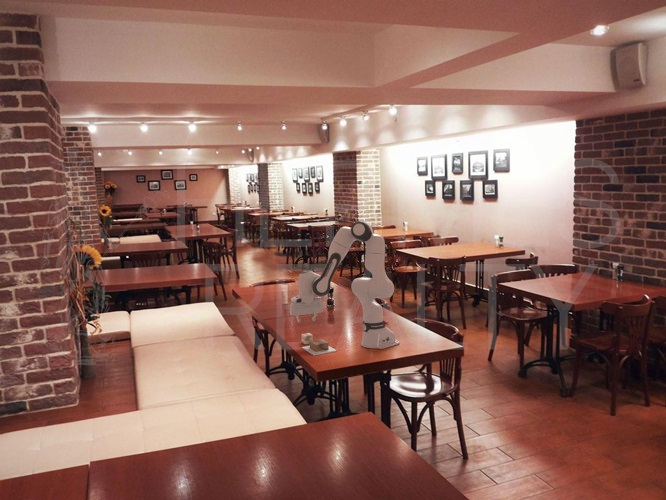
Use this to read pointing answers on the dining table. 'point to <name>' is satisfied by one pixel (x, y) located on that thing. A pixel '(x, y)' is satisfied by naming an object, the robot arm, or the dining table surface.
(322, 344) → the walnut base
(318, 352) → the white flat slab
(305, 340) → the ash cube
